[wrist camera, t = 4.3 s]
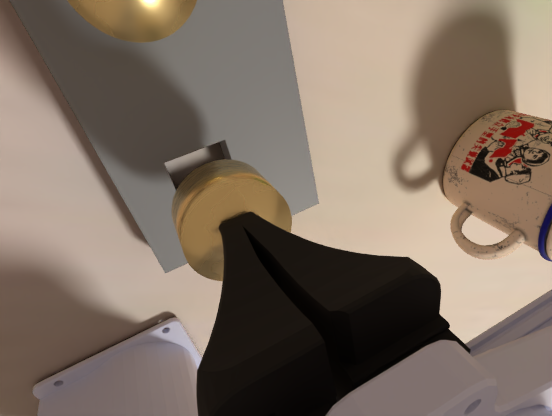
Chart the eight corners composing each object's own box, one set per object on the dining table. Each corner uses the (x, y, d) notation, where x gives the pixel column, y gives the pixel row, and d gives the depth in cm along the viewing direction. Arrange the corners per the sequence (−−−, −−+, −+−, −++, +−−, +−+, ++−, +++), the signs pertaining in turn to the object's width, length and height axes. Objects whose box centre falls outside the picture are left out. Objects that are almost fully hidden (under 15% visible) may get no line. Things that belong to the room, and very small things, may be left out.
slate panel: (160, 253, 21) (165, 273, 19) (-196, -388, 9) (-265, -479, 7) (304, 190, 23) (318, 203, 22) (186, -391, 11) (200, -461, 9)
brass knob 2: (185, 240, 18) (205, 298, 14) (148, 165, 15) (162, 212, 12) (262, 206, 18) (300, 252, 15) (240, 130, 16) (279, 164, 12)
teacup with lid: (514, 80, 27) (734, 117, 17) (524, 161, 32) (695, 222, 23) (398, 182, 27) (556, 273, 17) (427, 245, 32) (560, 340, 23)
